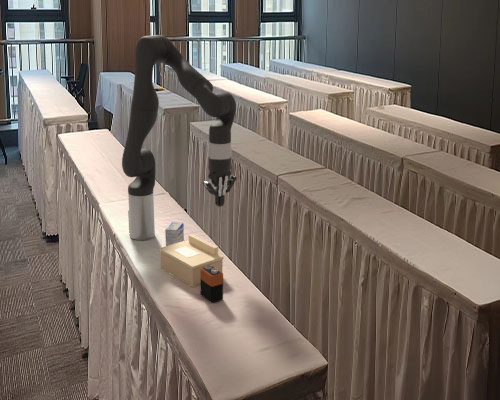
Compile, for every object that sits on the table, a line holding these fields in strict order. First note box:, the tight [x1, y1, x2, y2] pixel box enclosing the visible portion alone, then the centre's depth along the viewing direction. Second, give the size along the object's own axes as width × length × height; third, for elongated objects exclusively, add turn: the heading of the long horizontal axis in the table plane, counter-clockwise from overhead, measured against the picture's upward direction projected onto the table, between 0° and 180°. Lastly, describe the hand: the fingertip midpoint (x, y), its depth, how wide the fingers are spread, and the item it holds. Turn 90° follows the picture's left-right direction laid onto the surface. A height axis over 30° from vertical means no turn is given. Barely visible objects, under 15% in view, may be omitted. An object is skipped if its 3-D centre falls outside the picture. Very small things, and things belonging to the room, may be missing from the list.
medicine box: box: [164, 221, 185, 246], centre depth 226 cm, size 8×4×9 cm, turn 168°
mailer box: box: [159, 251, 224, 288], centre depth 208 cm, size 18×12×6 cm, turn 42°
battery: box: [200, 265, 224, 304], centre depth 191 cm, size 4×7×10 cm, turn 35°
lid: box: [158, 233, 224, 270], centre depth 206 cm, size 18×12×4 cm
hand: (219, 205), depth 209 cm, fingers closed
